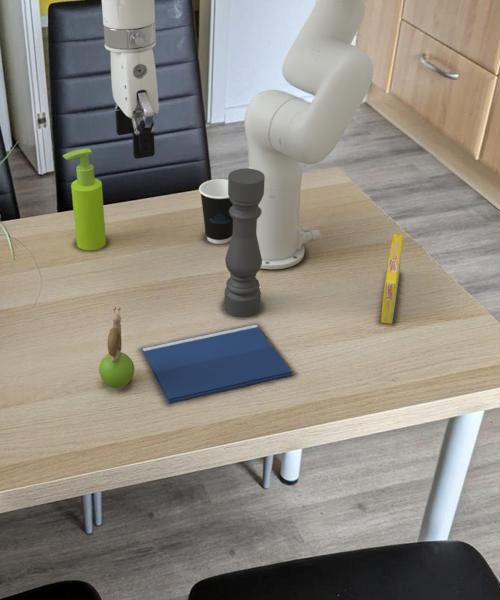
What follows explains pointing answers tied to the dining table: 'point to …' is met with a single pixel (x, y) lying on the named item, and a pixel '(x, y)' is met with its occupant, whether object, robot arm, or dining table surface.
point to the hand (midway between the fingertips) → (135, 144)
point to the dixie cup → (216, 211)
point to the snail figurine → (116, 358)
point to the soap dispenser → (87, 203)
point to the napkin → (214, 363)
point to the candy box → (392, 279)
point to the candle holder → (244, 243)
